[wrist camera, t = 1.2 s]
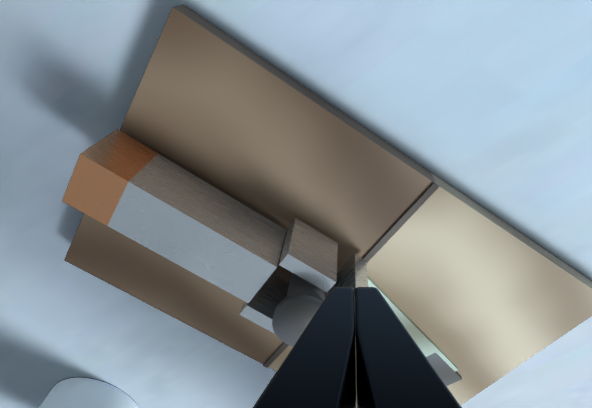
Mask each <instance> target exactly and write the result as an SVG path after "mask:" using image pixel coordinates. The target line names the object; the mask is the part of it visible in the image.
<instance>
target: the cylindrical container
mask: <svg viewBox="0 0 592 408" xmlns="http://www.w3.org/2000/svg"><path fill="white" fill-rule="evenodd" d="M39 408H139V407H138V405H137V404H136V403H135V402H134V401H133V400H132V398H130V397H129V396H128V395H127V394H126V393H124V392H123V391H121V390H119V389H118V388H116V387H114V386H112V385H110V384H108V383H105V382H102V381H99V380H94V379H90V378H69V379H65V380H62V381H61V382H59V383H57V384H56V385H55V386H54V387H53V388H52V390H51V391H50V393H49V394H48V395H47V397H46V398H45V400H44V401H43V402H42V404H41V405H40V407H39Z"/></svg>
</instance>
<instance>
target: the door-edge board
mask: <svg viewBox="0 0 592 408" xmlns="http://www.w3.org/2000/svg"><path fill="white" fill-rule="evenodd" d="M120 131H121V132H123V133H125V134H126V135H128V136H130V137H131V138H133V139H135V140H136V141H138V142H140V143H141V144H143V145H145V146H146V147H148V148H150V149H151V150H153V151H155V152H156V153H158V154H160V155H161V156H163V157H165V158H166V159H168V160H170V161H171V162H173V163H175V164H177V165H178V166H180V167H182V168H183V169H185V170H187V171H188V172H190V173H192V174H193V175H195V176H197V177H198V178H200V179H202V180H203V181H205V182H207V183H208V184H210V185H212V186H213V187H215V188H217V189H218V190H220V191H222V192H223V193H225V194H227V195H228V196H230V197H232V198H233V199H235V200H237V201H238V202H240V203H242V204H244V205H245V206H247V207H249V208H250V209H252V210H254V211H255V212H257V213H259V214H260V215H262V216H264V217H265V218H267V219H269V220H270V221H272V222H274V223H275V224H277V225H279V226H280V227H282V228H284V229H285V230H286V233H285V237H284V241H283V245H282V249H281V254H280V258H279V262H278V266H277V268H276V269H275V271H274V272H273V274H274V275H276V276H278V277H280V278H281V279H283V280H285V281H287V282H288V283H289V287H288V292H287V297H286V298H285V299H283V300H282V301H281V302H280V303H279V304H278V305H277V306H276V308H275V311H274V315H273V320H272V327H273V330H274V332H275V334H274V333H272V332H271V331H269V330H267V329H265V328H263V327H261V326H259V325H258V324H256V323H254V322H252V321H250V320H248V319H246V318H245V317H243V316H241V315H239V314H240V311H241V308H242V305H243V300H241V299H239V298H238V297H236V296H234V295H232V294H230V293H229V292H227V291H225V290H223V289H221V288H219V287H218V286H216V285H214V284H212V283H210V282H209V281H207V280H205V279H203V278H201V277H199V276H198V275H196V274H194V273H192V272H190V271H188V270H187V269H185V268H183V267H181V266H179V265H178V264H176V263H174V262H172V261H170V260H168V259H167V258H165V257H163V256H161V255H159V254H157V253H156V252H154V251H152V250H150V249H148V248H147V247H145V246H143V245H141V244H139V243H137V242H136V241H134V240H132V239H130V238H128V237H127V236H125V235H123V234H121V233H119V232H117V231H116V230H114V229H112V228H110V227H108V226H106V225H105V224H103V223H101V222H99V221H97V220H96V219H94V218H92V217H90V216H88V215H86V214H85V213H84V215H83V217H82V220H81V222H80V224H79V227H78V229H77V231H76V234H75V236H74V238H73V241H72V243H71V245H70V248H69V250H68V252H67V255H66V257H65V259H64V260H65V261H67V262H69V263H70V264H72V265H74V266H76V267H78V268H80V269H82V270H84V271H86V272H88V273H90V274H92V275H93V276H95V277H97V278H99V279H101V280H103V281H105V282H107V283H109V284H111V285H113V286H115V287H116V288H118V289H120V290H122V291H124V292H126V293H128V294H130V295H132V296H134V297H136V298H137V299H139V300H141V301H143V302H145V303H147V304H149V305H151V306H153V307H155V308H157V309H159V310H160V311H162V312H164V313H166V314H168V315H170V316H172V317H174V318H176V319H178V320H180V321H182V322H183V323H185V324H187V325H189V326H191V327H193V328H195V329H197V330H199V331H201V332H203V333H205V334H206V335H208V336H210V337H212V338H214V339H216V340H218V341H220V342H222V343H224V344H226V345H227V346H229V347H231V348H233V349H235V350H237V351H239V352H241V353H243V354H245V355H247V356H249V357H250V358H252V359H254V360H256V361H258V362H260V363H262V364H263V366H265V367H267V368H268V367H270V368H272V369H273V370H275V371H277V370H278V369H279V367H280V366H281V364H282V363H283V361H284V360H285V358H286V357H287V355H288V354H289V352H290V351H291V349H292V348H293V346H294V345H295V343H296V342H297V340H298V339H299V337H300V336H301V334H302V333H303V331H304V330H305V328H306V327H307V325H308V324H309V322H310V321H311V319H312V318H313V316H314V315H315V313H316V312H317V310H318V309H319V307H320V306H321V304H322V302H323V301H324V299H325V298H326V296H327V292H325V291H323V290H322V289H320V288H318V287H316V286H315V285H313V284H311V283H309V282H308V281H306V280H304V279H302V278H301V277H299V276H297V275H296V274H294V273H292V272H290V271H289V270H287V269H285V268H283V267H282V266H280V265H279V263H280V259H281V255H282V250H283V246H284V242H285V238H286V234H287V229H288V227H289V226H290V224H291V223H292V222H293V221H294V219H295V218H297V219H299V220H300V221H302V222H304V223H305V224H307V225H309V226H310V227H312V228H314V229H315V230H317V231H319V232H320V233H322V234H324V235H325V236H327V237H329V238H330V239H332V240H333V241H335V242H337V243H338V252H337V272H338V271H339V270H340V269H341V268H342V267H343V266H344V265H345V264H346V263H347V262H348V260H349V259H350V258H351V257H352V256H353V255H354V254H357V255H358V256H360V257H362V258H363V259H365V260H366V261H367V275H368V287H375V288H377V289H378V290H379V291H380V293H381V294H382V296H383V297H384V298H385V300H386V301H387V303H388V304H389V306H390V307H391V308H392V310H393V311H394V313H395V314H396V315H397V317H398V318H399V320H400V321H401V322H402V324H403V325H404V327H405V328H406V330H407V331H408V332H409V334H410V335H411V337H412V338H413V339H414V341H415V342H416V344H417V345H418V347H419V348H420V349H421V351H422V352H423V354H424V355H425V356H426V358H427V359H428V361H429V362H430V363H431V365H432V366H433V368H434V369H435V371H436V372H437V373H438V375H439V376H440V378H441V379H442V380H443V382H444V383H445V385H446V386H447V388H448V389H449V390H450V392H451V393H452V395H453V396H454V397H455V399H456V400H457V402H458V403H459V405H462V404H463V403H465V402H466V401H468V400H469V399H471V398H472V397H473V396H475V395H476V394H478V393H479V392H481V391H482V390H484V389H485V388H487V387H488V386H490V385H491V384H493V383H494V382H495V381H497V380H498V379H500V378H501V377H503V376H504V375H506V374H507V373H509V372H510V371H512V370H513V369H515V368H516V367H517V366H519V365H520V364H522V363H523V362H525V361H526V360H528V359H529V358H531V357H532V356H534V355H535V354H537V353H538V352H539V351H541V350H542V349H544V348H545V347H547V346H548V345H550V344H551V343H553V342H554V341H556V340H557V339H559V338H560V337H561V336H563V335H564V334H566V333H567V332H569V331H570V330H572V329H573V328H575V327H576V326H578V325H579V324H581V323H582V322H583V321H585V320H586V319H588V318H589V317H591V316H592V281H591V280H589V279H588V278H586V277H585V276H583V275H582V274H580V273H579V272H577V271H576V270H574V269H573V268H571V267H570V266H569V265H567V264H566V263H564V262H563V261H561V260H560V259H558V258H557V257H555V256H554V255H552V254H551V253H549V252H548V251H546V250H545V249H543V248H542V247H540V246H539V245H537V244H536V243H535V242H533V241H532V240H530V239H529V238H527V237H526V236H524V235H523V234H521V233H520V232H518V231H517V230H515V229H514V228H512V227H511V226H509V225H508V224H506V223H505V222H503V221H502V220H501V219H499V218H498V217H496V216H495V215H493V214H492V213H490V212H489V211H487V210H486V209H484V208H483V207H481V206H480V205H478V204H477V203H475V202H474V201H472V200H471V199H469V198H468V197H467V196H465V195H464V194H462V193H461V192H459V191H458V190H456V189H455V188H453V187H452V186H450V185H449V184H447V183H446V182H444V181H443V180H441V179H440V178H438V177H437V176H435V175H434V174H433V173H431V172H430V171H428V170H427V169H425V168H424V167H422V166H421V165H419V164H418V163H416V162H415V161H413V160H412V159H410V158H409V157H407V156H406V155H404V154H403V153H401V152H400V151H399V150H397V149H396V148H394V147H393V146H391V145H390V144H388V143H387V142H385V141H384V140H382V139H381V138H379V137H378V136H376V135H375V134H373V133H372V132H370V131H369V130H367V129H366V128H365V127H363V126H362V125H360V124H359V123H357V122H356V121H354V120H353V119H351V118H350V117H348V116H347V115H345V114H344V113H342V112H341V111H339V110H338V109H336V108H335V107H333V106H332V105H331V104H329V103H328V102H326V101H325V100H323V99H322V98H320V97H319V96H317V95H316V94H314V93H313V92H311V91H310V90H308V89H307V88H305V87H304V86H302V85H301V84H299V83H298V82H297V81H295V80H294V79H292V78H291V77H289V76H288V75H286V74H285V73H283V72H282V71H280V70H279V69H277V68H276V67H274V66H273V65H271V64H270V63H268V62H267V61H265V60H264V59H263V58H261V57H260V56H258V55H257V54H255V53H254V52H252V51H251V50H249V49H248V48H246V47H245V46H243V45H242V44H240V43H239V42H237V41H236V40H234V39H233V38H232V37H230V36H229V35H227V34H226V33H224V32H223V31H221V30H220V29H218V28H217V27H215V26H214V25H212V24H211V23H209V22H208V21H206V20H205V19H203V18H202V17H200V16H199V15H198V14H196V13H195V12H193V11H192V10H190V9H189V8H187V7H186V6H184V5H181V6H175V7H172V10H171V12H170V14H169V17H168V19H167V21H166V24H165V26H164V28H163V31H162V33H161V35H160V38H159V40H158V42H157V45H156V47H155V49H154V52H153V54H152V56H151V59H150V61H149V63H148V66H147V68H146V70H145V73H144V75H143V77H142V80H141V82H140V84H139V87H138V89H137V91H136V94H135V96H134V98H133V101H132V103H131V105H130V108H129V110H128V112H127V115H126V117H125V119H124V122H123V124H122V126H121V129H120ZM355 340H356V336H355ZM356 408H357V388H356Z"/></svg>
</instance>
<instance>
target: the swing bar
mask: <svg viewBox="0 0 592 408" xmlns="http://www.w3.org/2000/svg"><path fill="white" fill-rule="evenodd" d="M62 201H63V202H65V203H66V204H68V205H70V206H72V207H74V208H75V209H77V210H79V211H81V212H83V213H85V214H86V215H88V216H90V217H92V218H94V219H96V220H97V221H99V222H101V223H103V224H105V225H106V226H108V227H110V228H112V229H114V230H116V231H117V232H119V233H121V234H123V235H125V236H127V237H128V238H130V239H132V240H134V241H136V242H137V243H139V244H141V245H143V246H145V247H147V248H148V249H150V250H152V251H154V252H156V253H157V254H159V255H161V256H163V257H165V258H167V259H168V260H170V261H172V262H174V263H176V264H178V265H179V266H181V267H183V268H185V269H187V270H188V271H190V272H192V273H194V274H196V275H198V276H199V277H201V278H203V279H205V280H207V281H209V282H210V283H212V284H214V285H216V286H218V287H219V288H221V289H223V290H225V291H227V292H229V293H230V294H232V295H234V296H236V297H238V298H239V299H241V300H243V305H242V308H241V311H240V314H239V315H241V316H243V317H245V318H246V319H248V320H250V321H252V322H254V323H256V324H258V325H259V326H261V327H263V328H265V329H267V330H269V331H271V332H272V333H274V334H275V332H274V330H273V327H272V320H273V315H274V311H275V308H276V306H277V305H278V304H279V303H280V302H281V301H282V300H283V299H285V298H286V297H287V292H288V287H289V283H288V282H287V281H285V280H283V279H281V278H280V277H278V276H276V275H274V274H273V272H274V271H275V269H276V268H277V266H278V262H279V258H280V254H281V249H282V245H283V241H284V237H285V233H286V230H285V229H284V228H282V227H280V226H279V225H277V224H275V223H274V222H272V221H270V220H269V219H267V218H265V217H264V216H262V215H260V214H259V213H257V212H255V211H254V210H252V209H250V208H249V207H247V206H245V205H244V204H242V203H240V202H238V201H237V200H235V199H233V198H232V197H230V196H228V195H227V194H225V193H223V192H222V191H220V190H218V189H217V188H215V187H213V186H212V185H210V184H208V183H207V182H205V181H203V180H202V179H200V178H198V177H197V176H195V175H193V174H192V173H190V172H188V171H187V170H185V169H183V168H182V167H180V166H178V165H177V164H175V163H173V162H171V161H170V160H168V159H166V158H165V157H163V156H161V155H160V154H158V153H156V152H155V151H153V150H151V149H150V148H148V147H146V146H145V145H143V144H141V143H140V142H138V141H136V140H135V139H133V138H131V137H130V136H128V135H126V134H125V133H123V132H121V131H120V130H118V129H117V130H115V131H114V132H112V133H111V134H109V135H108V136H106V137H105V138H103V139H102V140H100V141H99V142H97V143H96V144H94V145H93V146H91V147H90V148H88V149H87V150H85V151H84V152H82V153H81V154H80V156H79V159H78V161H77V164H76V166H75V169H74V171H73V174H72V177H71V179H70V182H69V184H68V187H67V190H66V192H65V195H64V197H63V200H62ZM337 252H338V243H337V242H335V241H333V240H332V239H330V238H329V237H327V236H325V235H324V234H322V233H320V232H319V231H317V230H315V229H314V228H312V227H310V226H309V225H307V224H305V223H304V222H302V221H300V220H299V219H297V218H295V219H294V221H293V222H292V223H291V224H290V226H289V227H288V229H287V234H286V238H285V242H284V246H283V250H282V255H281V259H280V263H279V265H280V266H282V267H283V268H285V269H287V270H289V271H290V272H292V273H294V274H296V275H297V276H299V277H301V278H302V279H304V280H306V281H308V282H309V283H311V284H313V285H315V286H316V287H318V288H320V289H322V290H323V291H325V292H327V295H328V293H329V292H330V290H331V289H332V288H333V287H352V288H354V291H355V289H356V288H357V287H368V275H367V261H366V260H365V259H363V258H362V257H360V256H358V255H357V254H354V255H353V256H352V257H351V258H350V259H349V260H348V262H347V263H346V264H345V265H344V266H343V267H342V268H341V269H340V270H339V271H338V272H337Z"/></svg>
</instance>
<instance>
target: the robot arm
mask: <svg viewBox="0 0 592 408" xmlns="http://www.w3.org/2000/svg"><path fill="white" fill-rule="evenodd" d="M355 336H356V340H355ZM356 388H357V408H462V407H461V406H460V405H459V403H458V402H457V400H456V399H455V397H454V396H453V395H452V393H451V392H450V390H449V389H448V388H447V386H446V385H445V383H444V382H443V380H442V379H441V378H440V376H439V375H438V373H437V372H436V371H435V369H434V368H433V366H432V365H431V363H430V362H429V361H428V359H427V358H426V356H425V355H424V354H423V352H422V351H421V349H420V348H419V347H418V345H417V344H416V342H415V341H414V339H413V338H412V337H411V335H410V334H409V332H408V331H407V330H406V328H405V327H404V325H403V324H402V322H401V321H400V320H399V318H398V317H397V315H396V314H395V313H394V311H393V310H392V308H391V307H390V306H389V304H388V303H387V301H386V300H385V298H384V297H383V296H382V294H381V293H380V291H379V290H378V289H377V288H375V287H357V288H356V289H355V291H354V288H352V287H333V288H332V289H331V290H330V292H329V293H328V295H327V296H326V298H325V299H324V301H323V302H322V304H321V306H320V307H319V309H318V310H317V312H316V313H315V315H314V316H313V318H312V319H311V321H310V322H309V324H308V325H307V327H306V328H305V330H304V331H303V333H302V334H301V336H300V337H299V339H298V340H297V342H296V343H295V345H294V346H293V348H292V349H291V351H290V352H289V354H288V355H287V357H286V358H285V360H284V361H283V363H282V364H281V366H280V367H279V369H278V370H277V372H276V374H275V375H274V377H273V378H272V380H271V381H270V383H269V384H268V386H267V387H266V389H265V390H264V392H263V393H262V395H261V396H260V398H259V399H258V401H257V402H256V404H255V405H254V407H253V408H356Z"/></svg>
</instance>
